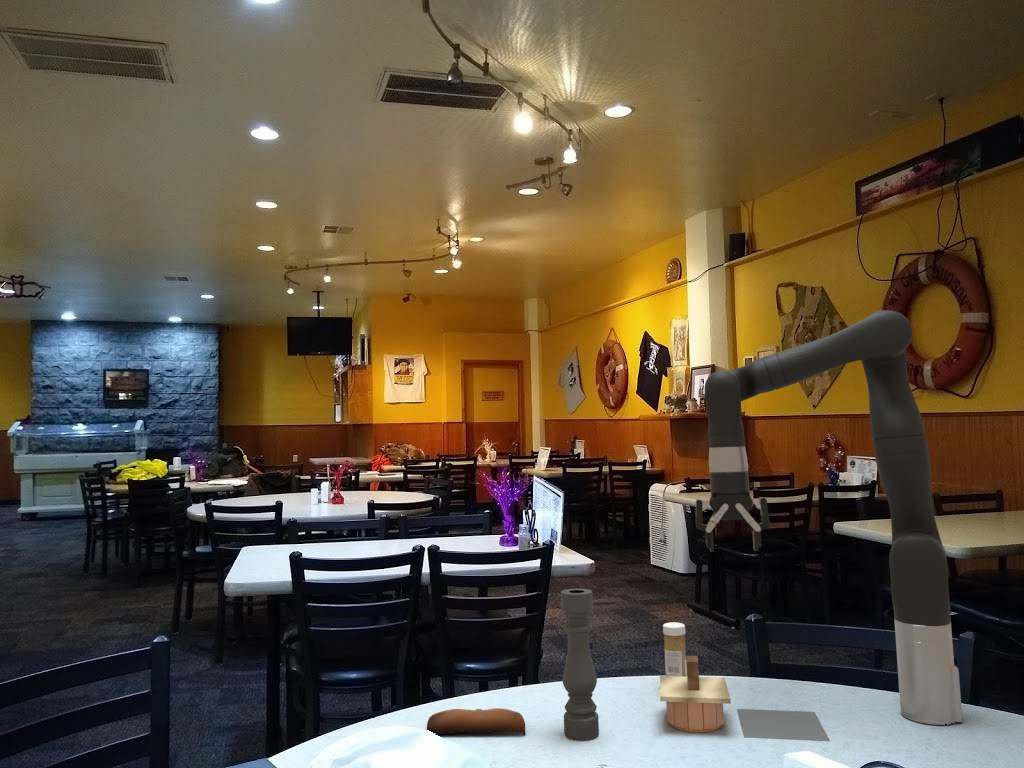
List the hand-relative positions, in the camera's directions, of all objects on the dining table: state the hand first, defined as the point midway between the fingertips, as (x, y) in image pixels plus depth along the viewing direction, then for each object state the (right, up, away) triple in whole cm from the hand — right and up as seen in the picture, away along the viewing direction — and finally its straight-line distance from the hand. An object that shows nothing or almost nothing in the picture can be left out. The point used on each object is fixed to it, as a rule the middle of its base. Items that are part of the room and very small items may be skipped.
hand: (733, 550), depth 152 cm
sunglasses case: (-51, -31, -13) cm, 61 cm away
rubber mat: (+4, -28, -16) cm, 32 cm away
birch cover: (-11, -23, -14) cm, 29 cm away
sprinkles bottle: (-10, -30, +5) cm, 32 cm away
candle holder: (-32, -29, -17) cm, 47 cm away
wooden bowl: (-11, -29, -14) cm, 34 cm away
